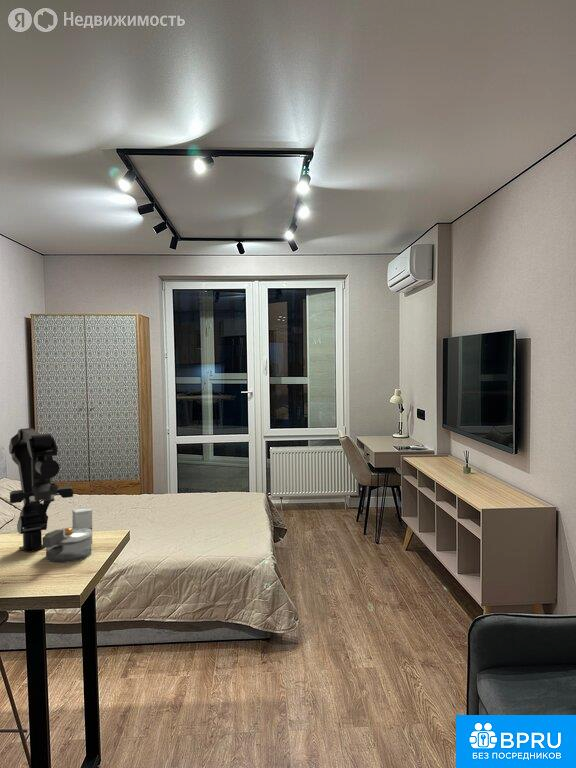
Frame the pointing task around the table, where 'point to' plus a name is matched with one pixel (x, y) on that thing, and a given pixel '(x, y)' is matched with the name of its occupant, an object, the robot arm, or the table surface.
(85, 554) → the pot
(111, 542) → the table surface
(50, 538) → the lid
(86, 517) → the skincare box
